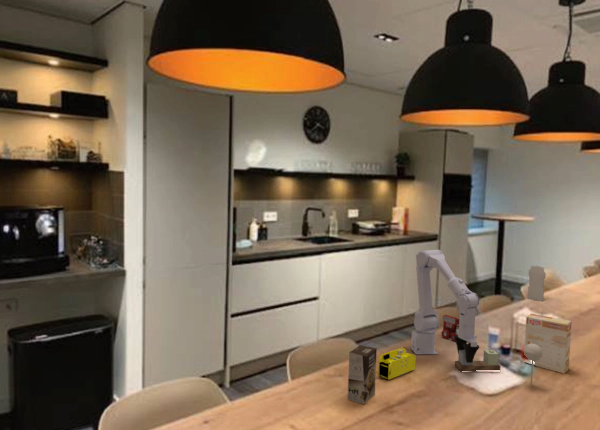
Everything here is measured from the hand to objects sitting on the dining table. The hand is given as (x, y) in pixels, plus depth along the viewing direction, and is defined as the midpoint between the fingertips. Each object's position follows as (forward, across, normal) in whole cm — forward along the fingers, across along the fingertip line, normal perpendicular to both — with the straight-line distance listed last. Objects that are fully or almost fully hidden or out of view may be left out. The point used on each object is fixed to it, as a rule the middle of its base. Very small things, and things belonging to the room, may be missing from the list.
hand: (465, 358), depth 178 cm
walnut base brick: (+4, 0, -5) cm, 7 cm away
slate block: (+2, 0, 0) cm, 2 cm away
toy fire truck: (+5, +36, -10) cm, 37 cm away
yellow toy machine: (+5, -4, +28) cm, 29 cm away
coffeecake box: (+5, +4, -35) cm, 35 cm away
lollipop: (+5, -14, -19) cm, 24 cm away
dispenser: (+5, +110, -94) cm, 145 cm away
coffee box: (+5, -22, +45) cm, 51 cm away
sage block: (+2, 0, -10) cm, 10 cm away
